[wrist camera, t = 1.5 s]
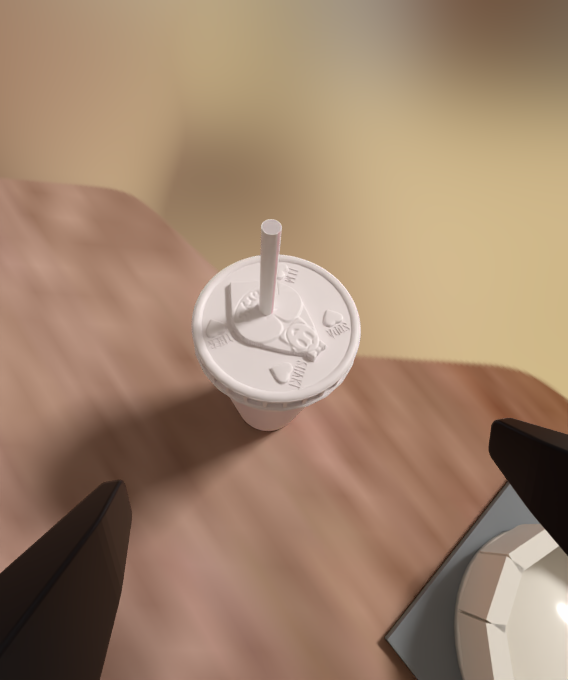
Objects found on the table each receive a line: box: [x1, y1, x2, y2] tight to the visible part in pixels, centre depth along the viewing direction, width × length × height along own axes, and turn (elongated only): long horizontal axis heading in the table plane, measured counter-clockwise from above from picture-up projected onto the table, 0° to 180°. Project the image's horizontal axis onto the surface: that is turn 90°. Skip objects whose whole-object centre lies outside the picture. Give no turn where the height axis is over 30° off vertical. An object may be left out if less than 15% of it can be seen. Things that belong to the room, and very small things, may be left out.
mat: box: [385, 482, 540, 680], centre depth 18 cm, size 12×12×1 cm
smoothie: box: [192, 219, 361, 431], centre depth 16 cm, size 6×6×14 cm
